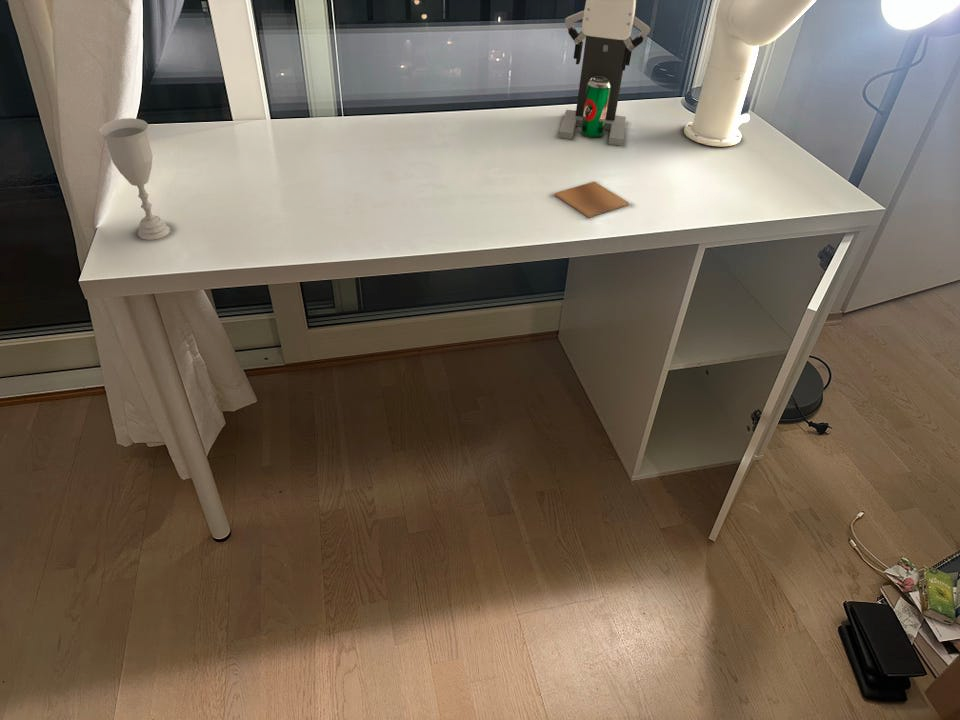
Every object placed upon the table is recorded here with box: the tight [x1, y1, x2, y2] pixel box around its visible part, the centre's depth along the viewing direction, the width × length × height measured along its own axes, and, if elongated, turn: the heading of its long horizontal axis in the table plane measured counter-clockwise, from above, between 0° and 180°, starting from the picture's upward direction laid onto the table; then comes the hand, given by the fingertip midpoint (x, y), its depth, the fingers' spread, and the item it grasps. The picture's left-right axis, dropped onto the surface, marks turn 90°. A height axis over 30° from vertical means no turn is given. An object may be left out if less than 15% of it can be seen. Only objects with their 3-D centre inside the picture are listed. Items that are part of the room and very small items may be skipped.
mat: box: [554, 181, 630, 218], centre depth 134 cm, size 10×10×1 cm
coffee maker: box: [558, 36, 627, 147], centre depth 153 cm, size 14×14×21 cm
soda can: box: [580, 76, 611, 139], centre depth 154 cm, size 5×5×12 cm
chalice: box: [98, 117, 171, 241], centre depth 112 cm, size 7×7×18 cm
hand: (600, 65), depth 148 cm, fingers open, 9 cm apart
